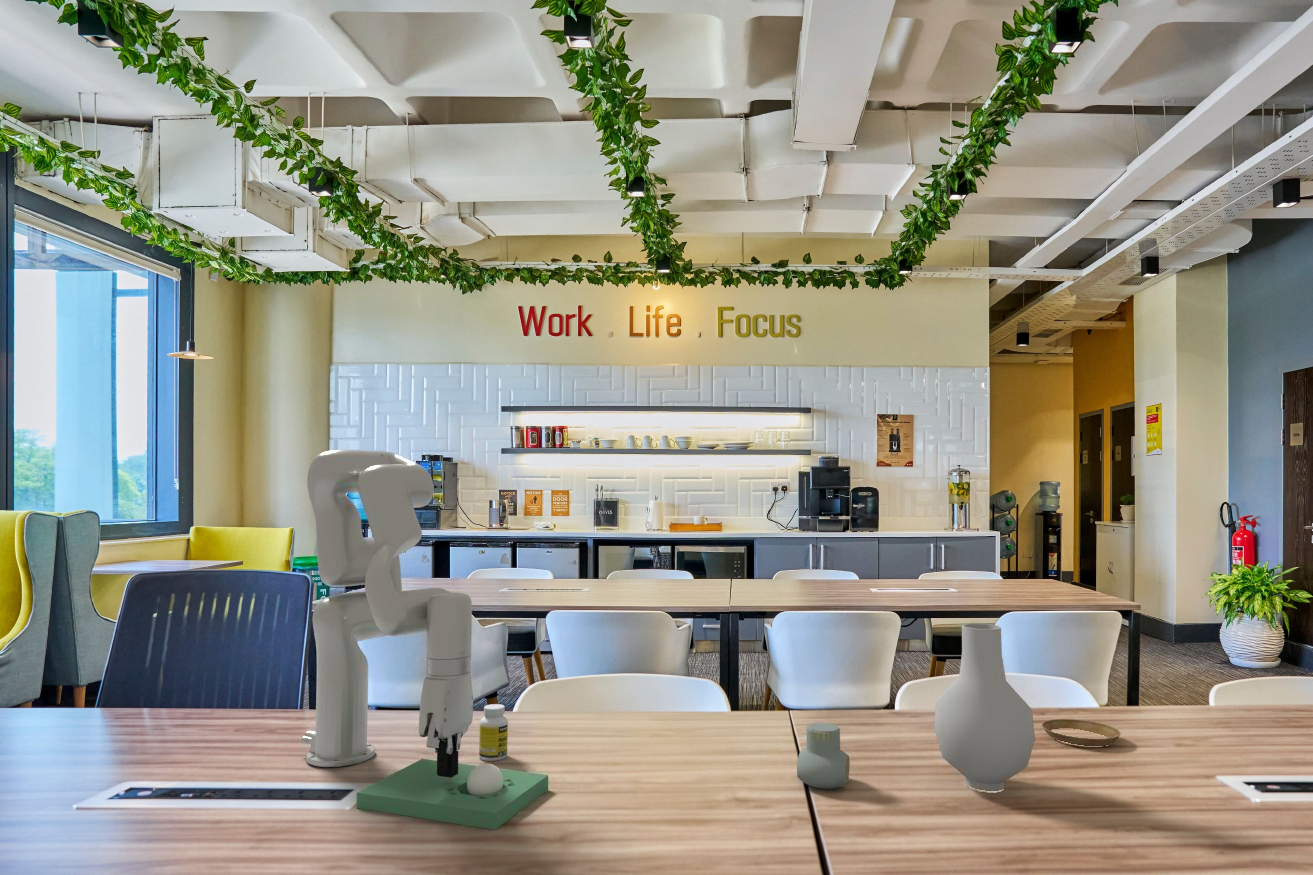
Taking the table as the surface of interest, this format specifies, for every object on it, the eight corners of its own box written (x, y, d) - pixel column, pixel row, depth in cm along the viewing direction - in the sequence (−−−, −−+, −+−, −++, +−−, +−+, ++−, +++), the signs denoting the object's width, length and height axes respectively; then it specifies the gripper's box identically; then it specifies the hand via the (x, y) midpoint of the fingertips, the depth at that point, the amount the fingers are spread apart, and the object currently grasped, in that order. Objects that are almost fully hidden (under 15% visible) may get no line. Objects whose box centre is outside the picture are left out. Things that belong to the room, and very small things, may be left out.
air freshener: (805, 771, 155) (805, 716, 155) (851, 776, 152) (850, 720, 153) (795, 791, 144) (794, 733, 145) (843, 797, 142) (842, 737, 142)
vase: (1039, 779, 150) (1035, 623, 152) (1032, 811, 136) (1028, 637, 137) (943, 765, 158) (940, 616, 160) (927, 793, 144) (924, 629, 145)
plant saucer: (1037, 744, 172) (1036, 731, 172) (1046, 726, 184) (1046, 714, 184) (1118, 756, 164) (1118, 743, 164) (1123, 737, 176) (1122, 724, 176)
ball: (493, 807, 135) (462, 807, 137) (511, 793, 141) (481, 794, 143) (489, 769, 136) (458, 770, 138) (507, 757, 142) (477, 758, 144)
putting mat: (356, 807, 137) (356, 792, 137) (421, 772, 154) (422, 758, 154) (495, 829, 128) (495, 812, 128) (548, 789, 145) (548, 774, 145)
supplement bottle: (501, 762, 159) (501, 710, 160) (474, 760, 160) (475, 709, 161) (511, 753, 165) (512, 703, 165) (485, 751, 166) (486, 702, 166)
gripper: (454, 656, 151) (453, 759, 150) (403, 673, 137) (401, 787, 136) (490, 659, 149) (489, 763, 148) (442, 677, 135) (440, 793, 134)
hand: (447, 774), depth 142 cm, fingers closed
